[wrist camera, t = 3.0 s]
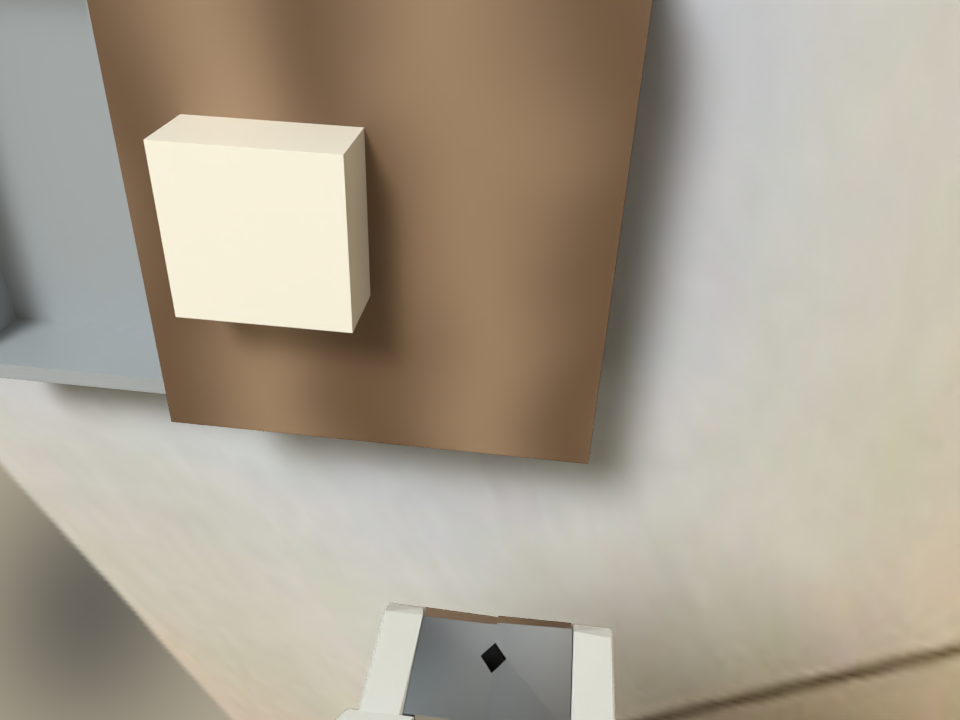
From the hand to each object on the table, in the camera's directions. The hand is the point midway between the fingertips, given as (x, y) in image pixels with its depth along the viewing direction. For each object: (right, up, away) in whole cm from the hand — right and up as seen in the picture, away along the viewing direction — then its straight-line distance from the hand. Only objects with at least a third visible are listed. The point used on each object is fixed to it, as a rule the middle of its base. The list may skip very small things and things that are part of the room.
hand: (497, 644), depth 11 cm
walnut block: (-3, +11, +16) cm, 20 cm away
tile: (-6, +8, +12) cm, 16 cm away
